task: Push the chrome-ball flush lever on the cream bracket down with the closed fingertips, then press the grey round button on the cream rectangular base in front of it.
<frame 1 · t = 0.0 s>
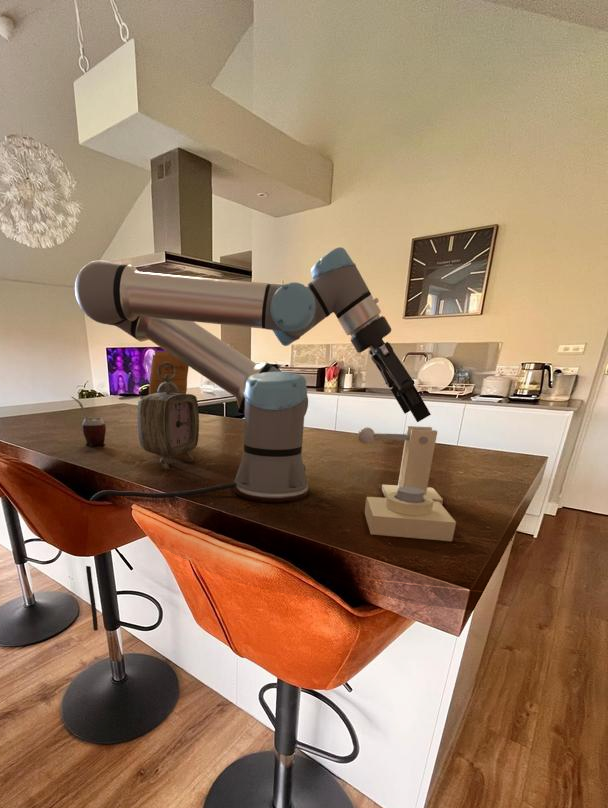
hand: (416, 414, 89), 15 cm above the countertop, tool tilted 35°, fingers open, 13 cm apart
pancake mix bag: (170, 448, 130), on the countertop
cream rectangular base: (404, 526, 70), on the countertop
mate gourd: (94, 446, 131), on the countertop
grey round button: (410, 495, 68), point 5 cm above the countertop, slide at 0.1 cm
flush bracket: (410, 497, 85), on the countertop
flush lever: (392, 436, 82), point 12 cm above the countertop, hinge at 0.0°
tabletop clock: (169, 465, 109), on the countertop
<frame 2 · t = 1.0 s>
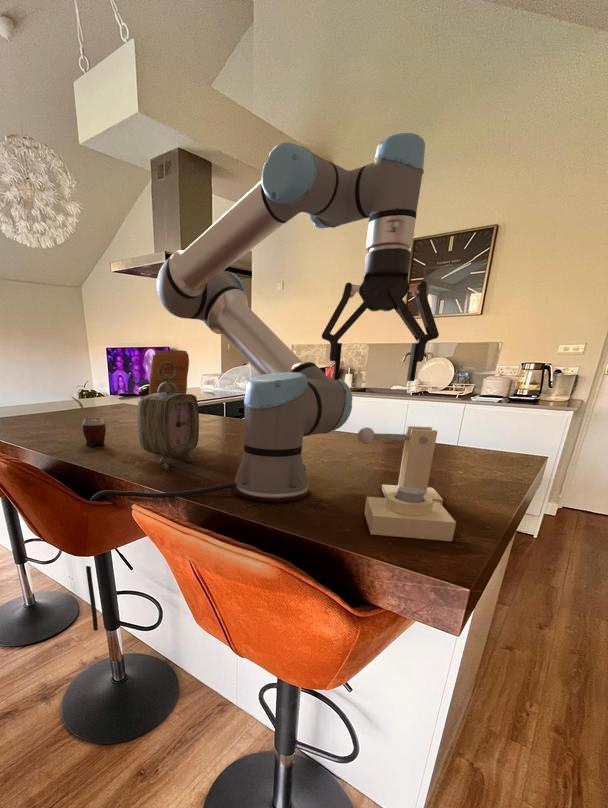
hand: (372, 380, 80), 22 cm above the countertop, tool pointing down, fingers open, 13 cm apart
nothing on the countertop moved.
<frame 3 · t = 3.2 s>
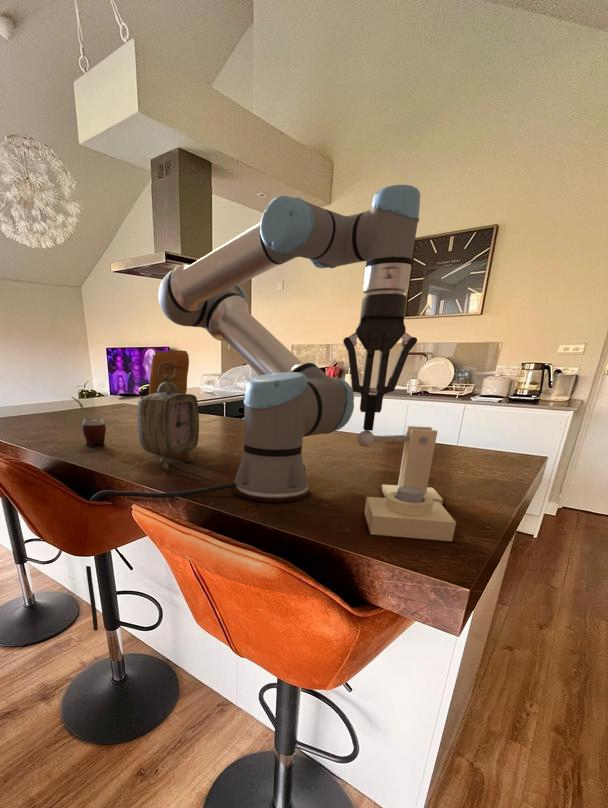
hand: (367, 429, 82), 13 cm above the countertop, tool pointing down, fingers closed
flush lever: (392, 438, 82), point 12 cm above the countertop, hinge at -3.5°, touching gripper
everything else where it was.
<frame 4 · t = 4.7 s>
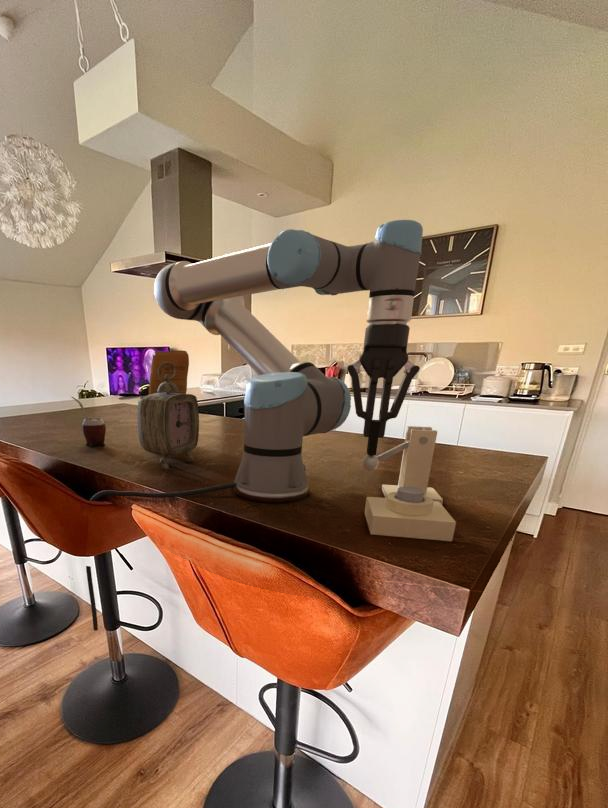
hand: (371, 453, 84), 8 cm above the countertop, tool pointing down, fingers closed
flush lever: (394, 450, 83), point 9 cm above the countertop, hinge at -32.4°, touching gripper
everything else where it was.
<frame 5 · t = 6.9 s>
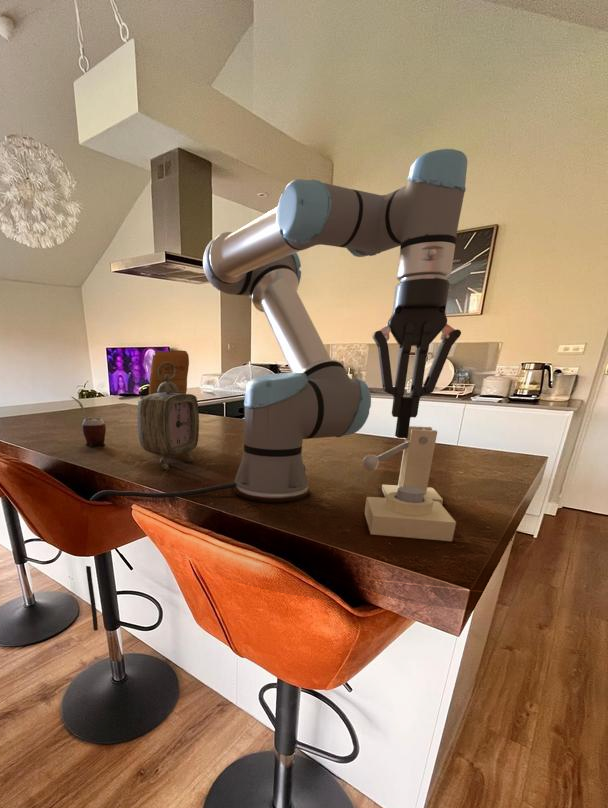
hand: (401, 436, 72), 14 cm above the countertop, tool pointing down, fingers closed
flush lever: (394, 450, 83), point 9 cm above the countertop, hinge at -32.4°
everything else where it was.
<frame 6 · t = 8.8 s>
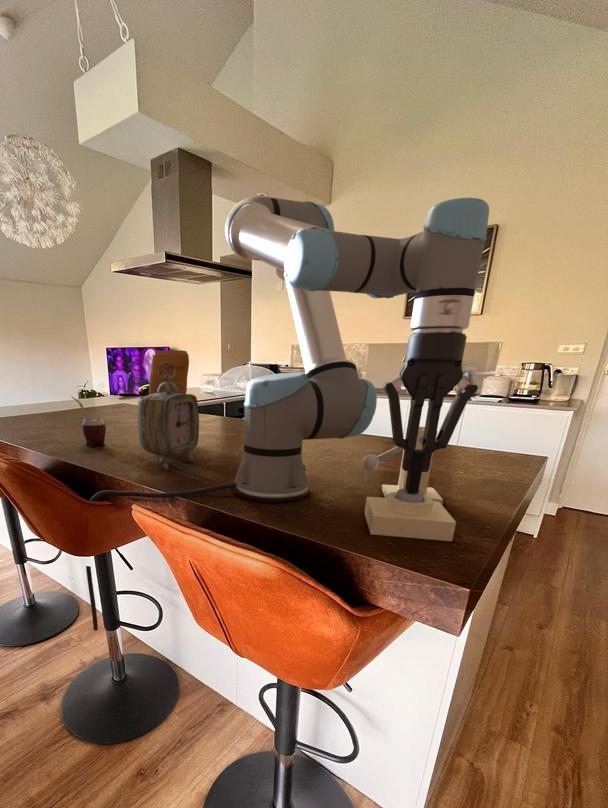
hand: (411, 490, 68), 6 cm above the countertop, tool pointing down, fingers closed
grey round button: (409, 497, 68), point 5 cm above the countertop, slide at -0.2 cm, touching gripper
everything else where it was.
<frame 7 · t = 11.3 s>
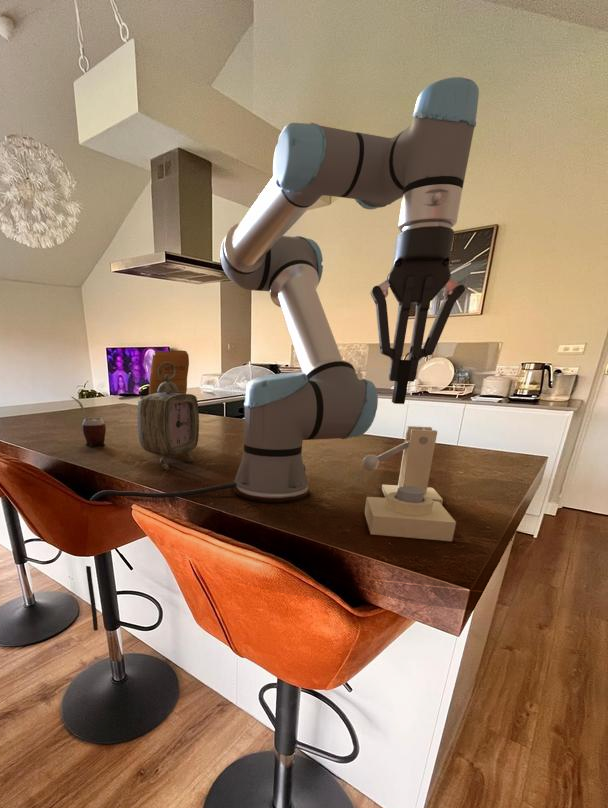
hand: (397, 402, 68), 20 cm above the countertop, tool pointing down, fingers closed
grey round button: (410, 495, 68), point 5 cm above the countertop, slide at 0.1 cm
everything else where it was.
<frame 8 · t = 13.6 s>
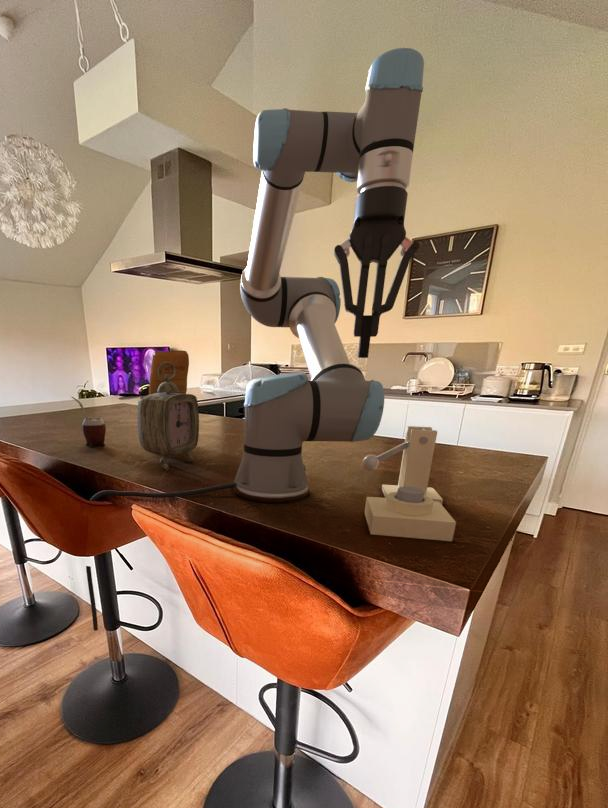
hand: (362, 357, 72), 26 cm above the countertop, tool pointing down, fingers closed
nothing on the countertop moved.
at the end: flush lever at -32° (first picture: +0°); grey round button pushed in 1.0 cm at the most during the clip, back to where it started at the end; grey round button slide at 0.1 cm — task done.
